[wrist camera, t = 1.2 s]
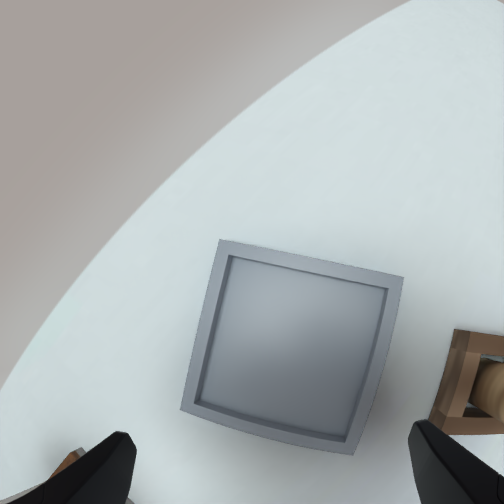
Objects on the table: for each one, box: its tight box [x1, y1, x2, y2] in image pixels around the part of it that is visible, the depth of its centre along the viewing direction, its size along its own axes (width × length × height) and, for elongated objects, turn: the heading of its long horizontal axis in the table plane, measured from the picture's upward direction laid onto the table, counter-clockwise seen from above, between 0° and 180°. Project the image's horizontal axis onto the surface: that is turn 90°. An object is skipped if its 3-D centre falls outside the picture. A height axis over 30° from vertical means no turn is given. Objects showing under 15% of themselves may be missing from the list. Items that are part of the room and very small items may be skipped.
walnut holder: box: [428, 329, 504, 435], centre depth 17 cm, size 8×8×3 cm
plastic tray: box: [180, 239, 404, 455], centre depth 22 cm, size 14×14×2 cm
